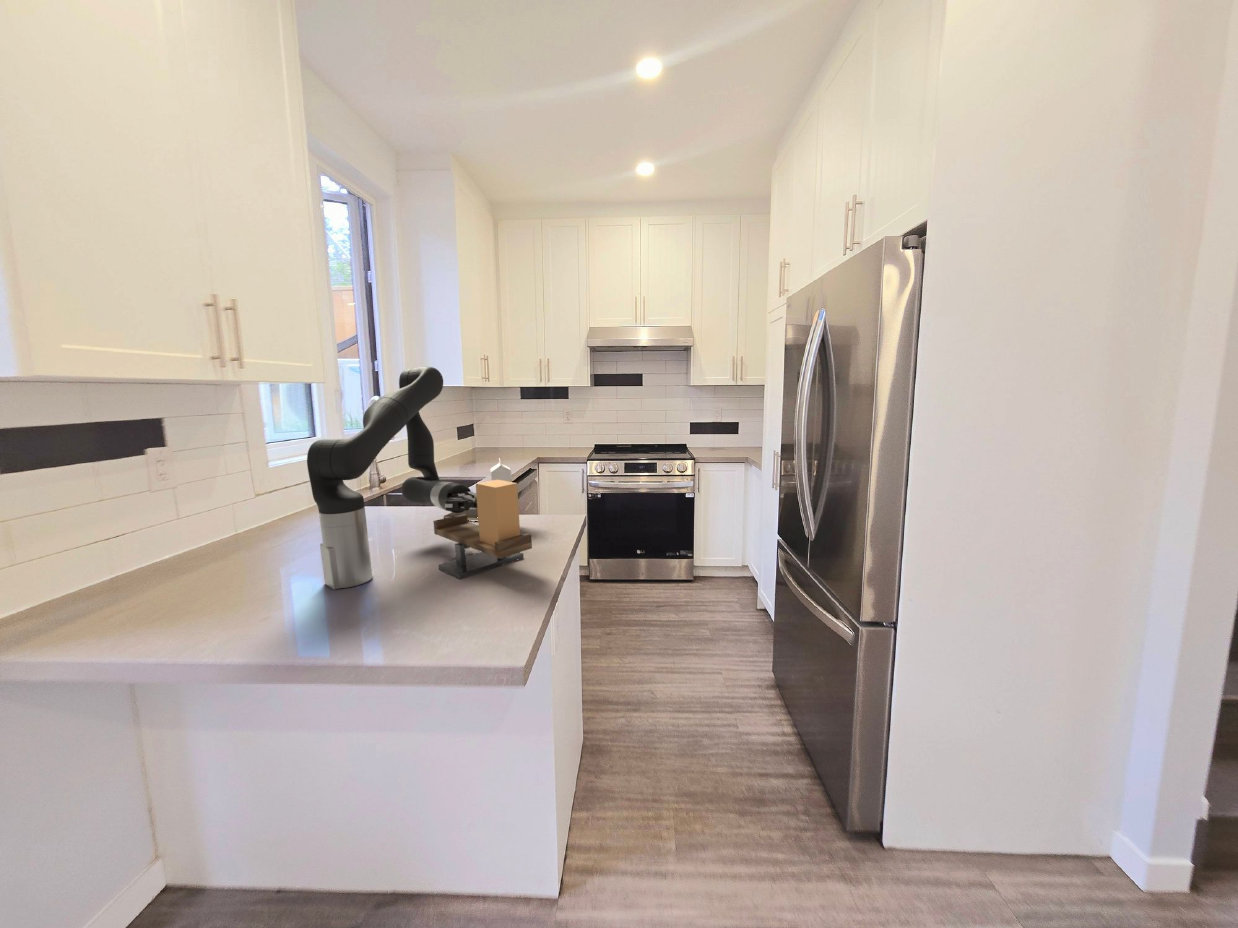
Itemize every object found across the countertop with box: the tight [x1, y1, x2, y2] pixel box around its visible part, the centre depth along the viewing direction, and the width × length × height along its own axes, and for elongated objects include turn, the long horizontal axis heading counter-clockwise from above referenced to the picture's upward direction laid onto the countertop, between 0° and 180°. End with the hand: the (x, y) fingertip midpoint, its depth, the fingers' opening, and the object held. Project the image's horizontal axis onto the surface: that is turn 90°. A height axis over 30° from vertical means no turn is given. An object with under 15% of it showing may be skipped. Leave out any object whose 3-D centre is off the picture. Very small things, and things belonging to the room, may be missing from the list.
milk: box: [489, 457, 513, 482], centre depth 154 cm, size 6×6×22 cm
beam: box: [432, 514, 533, 559], centre depth 124 cm, size 30×9×4 cm, turn 47°
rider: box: [475, 480, 521, 546], centre depth 118 cm, size 6×8×14 cm
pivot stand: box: [438, 542, 524, 580], centre depth 125 cm, size 10×18×6 cm, turn 137°
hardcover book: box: [443, 509, 478, 520], centre depth 177 cm, size 16×23×2 cm
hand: (487, 505), depth 120 cm, fingers closed
